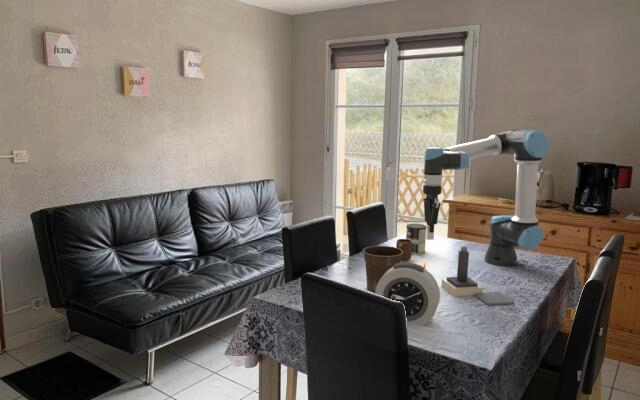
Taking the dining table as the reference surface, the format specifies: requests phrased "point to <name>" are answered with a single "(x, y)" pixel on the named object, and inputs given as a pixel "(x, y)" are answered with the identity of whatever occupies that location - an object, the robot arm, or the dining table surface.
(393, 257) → the plant pot
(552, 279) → the dining table surface
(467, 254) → the plug
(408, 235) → the coffee can
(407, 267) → the alarm clock
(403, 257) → the mug
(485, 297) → the mat
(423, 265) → the orange lever handle
